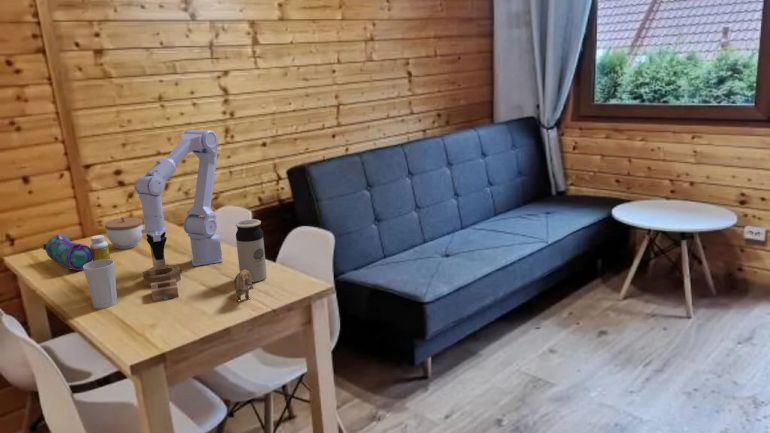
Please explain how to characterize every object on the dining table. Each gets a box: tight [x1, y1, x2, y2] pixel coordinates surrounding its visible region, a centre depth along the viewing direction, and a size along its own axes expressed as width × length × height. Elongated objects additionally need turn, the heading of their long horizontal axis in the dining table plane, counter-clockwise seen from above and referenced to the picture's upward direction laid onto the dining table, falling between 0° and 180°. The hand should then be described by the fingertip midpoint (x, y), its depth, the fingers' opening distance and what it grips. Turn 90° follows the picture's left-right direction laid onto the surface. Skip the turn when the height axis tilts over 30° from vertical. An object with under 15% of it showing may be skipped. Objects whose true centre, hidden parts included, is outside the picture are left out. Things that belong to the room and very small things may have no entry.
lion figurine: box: [233, 270, 254, 300], centre depth 172 cm, size 15×5×9 cm, turn 14°
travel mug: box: [235, 218, 268, 283], centre depth 183 cm, size 8×8×18 cm
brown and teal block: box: [149, 237, 167, 270], centre depth 184 cm, size 4×4×10 cm
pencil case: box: [42, 233, 93, 272], centre depth 203 cm, size 21×9×10 cm, turn 48°
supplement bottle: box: [89, 234, 111, 261], centre depth 202 cm, size 5×5×10 cm
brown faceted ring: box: [142, 264, 182, 287], centre depth 186 cm, size 10×10×3 cm
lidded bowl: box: [104, 216, 144, 250], centre depth 221 cm, size 13×13×11 cm
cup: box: [83, 258, 119, 309], centre depth 169 cm, size 8×8×12 cm
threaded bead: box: [150, 279, 179, 302], centre depth 175 cm, size 7×7×3 cm
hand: (159, 257), depth 185 cm, fingers closed on brown and teal block, 3 cm apart
